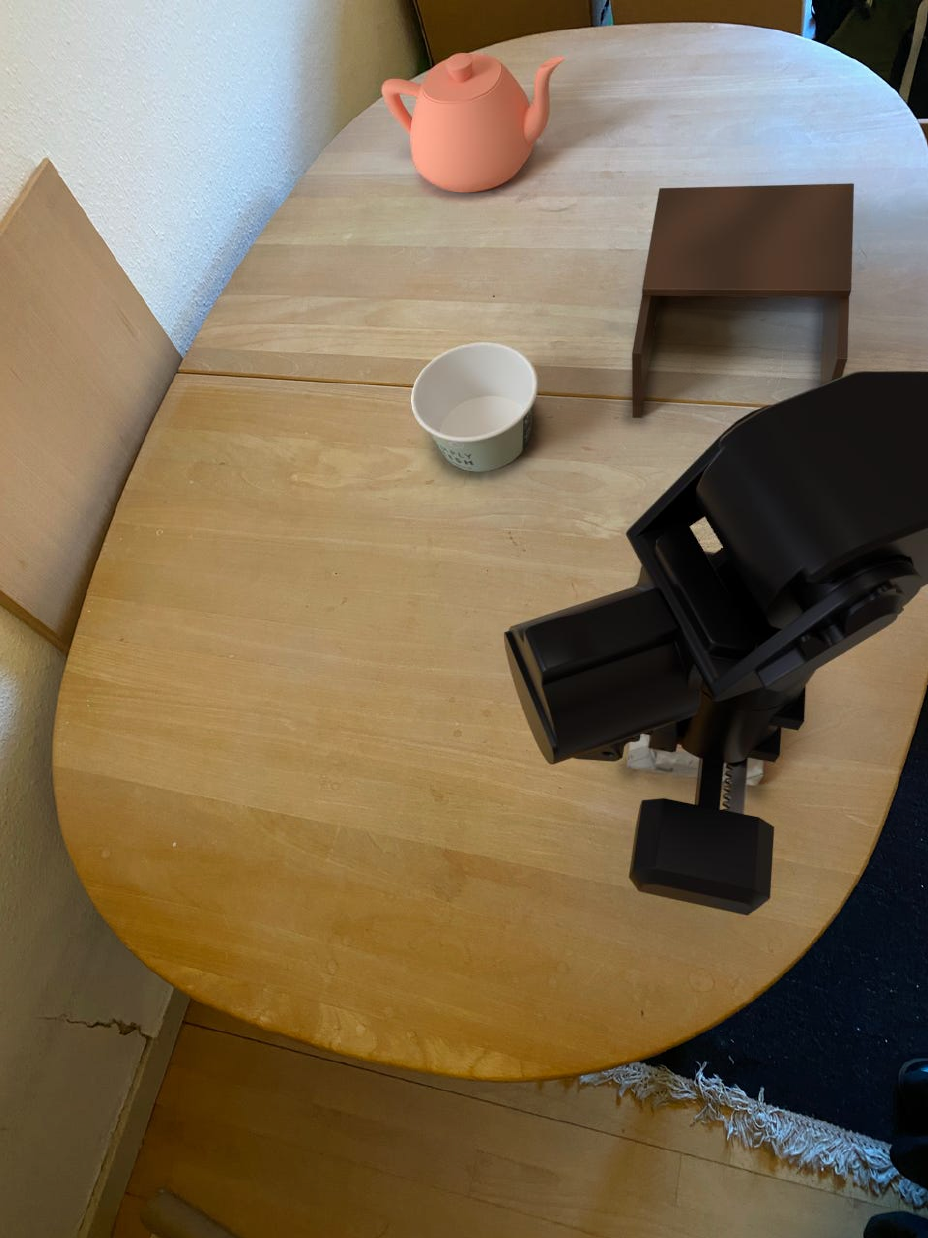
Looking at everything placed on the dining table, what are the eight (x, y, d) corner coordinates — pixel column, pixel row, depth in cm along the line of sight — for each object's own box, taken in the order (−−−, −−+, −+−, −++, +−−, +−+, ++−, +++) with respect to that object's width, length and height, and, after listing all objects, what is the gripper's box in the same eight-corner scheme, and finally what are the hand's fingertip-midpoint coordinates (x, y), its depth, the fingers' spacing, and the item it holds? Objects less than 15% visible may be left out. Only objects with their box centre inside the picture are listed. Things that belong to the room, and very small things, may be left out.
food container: (405, 463, 83) (387, 420, 78) (460, 376, 87) (447, 329, 82) (511, 498, 79) (502, 454, 73) (564, 404, 83) (559, 356, 77)
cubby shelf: (833, 266, 85) (854, 182, 77) (827, 426, 76) (849, 351, 68) (657, 266, 89) (659, 187, 81) (632, 417, 81) (631, 346, 73)
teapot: (583, 122, 103) (577, 14, 92) (557, 204, 97) (547, 98, 86) (417, 124, 109) (393, 23, 98) (383, 202, 103) (353, 103, 92)
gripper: (595, 464, 42) (580, 616, 56) (523, 817, 34) (526, 897, 47) (824, 494, 40) (751, 645, 54) (810, 878, 32) (728, 943, 45)
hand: (688, 770), depth 50 cm, fingers open, 9 cm apart
